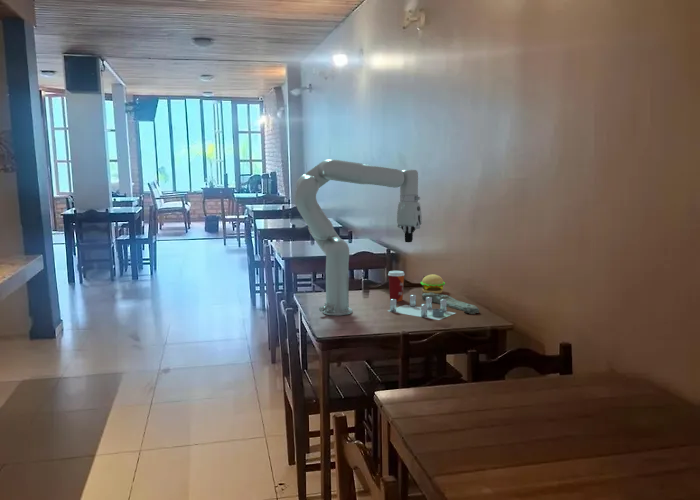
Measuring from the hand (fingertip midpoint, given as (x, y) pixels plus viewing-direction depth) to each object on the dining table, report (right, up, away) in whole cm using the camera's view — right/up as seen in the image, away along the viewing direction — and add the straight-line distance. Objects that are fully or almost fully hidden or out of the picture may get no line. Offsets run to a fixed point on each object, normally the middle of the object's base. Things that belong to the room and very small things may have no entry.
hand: (408, 241), depth 251 cm
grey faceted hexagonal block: (+10, -30, -13) cm, 34 cm away
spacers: (+3, -29, -6) cm, 30 cm away
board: (+5, -30, -6) cm, 31 cm away
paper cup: (-4, -27, +16) cm, 32 cm away
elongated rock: (+18, -29, +8) cm, 35 cm away
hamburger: (+16, -24, +38) cm, 47 cm away
